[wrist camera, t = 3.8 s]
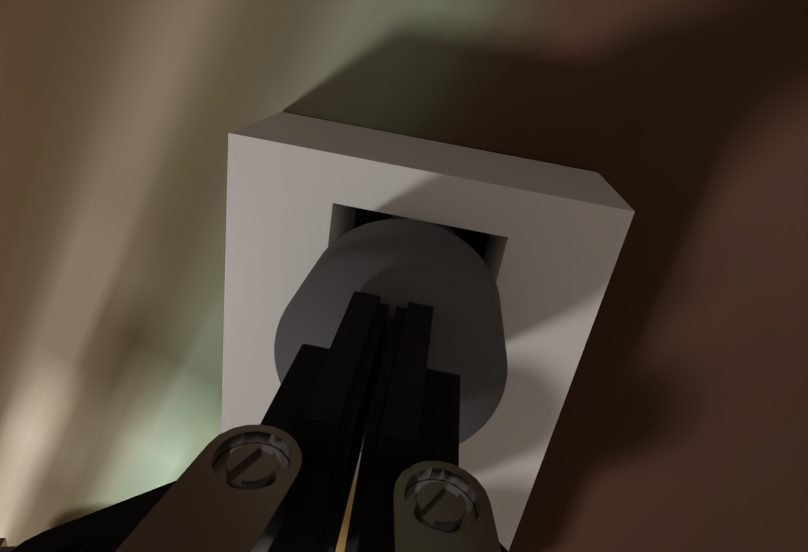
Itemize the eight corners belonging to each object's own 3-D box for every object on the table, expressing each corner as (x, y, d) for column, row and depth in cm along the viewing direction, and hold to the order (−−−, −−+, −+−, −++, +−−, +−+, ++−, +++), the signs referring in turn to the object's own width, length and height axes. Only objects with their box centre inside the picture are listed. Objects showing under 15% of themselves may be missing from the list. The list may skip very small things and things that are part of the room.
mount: (597, 172, 16) (634, 211, 13) (465, 574, 24) (464, 669, 21) (280, 111, 17) (228, 132, 13) (254, 528, 25) (216, 613, 21)
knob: (511, 196, 16) (536, 288, 10) (474, 337, 18) (477, 477, 12) (348, 165, 16) (282, 236, 10) (331, 308, 18) (267, 433, 12)
